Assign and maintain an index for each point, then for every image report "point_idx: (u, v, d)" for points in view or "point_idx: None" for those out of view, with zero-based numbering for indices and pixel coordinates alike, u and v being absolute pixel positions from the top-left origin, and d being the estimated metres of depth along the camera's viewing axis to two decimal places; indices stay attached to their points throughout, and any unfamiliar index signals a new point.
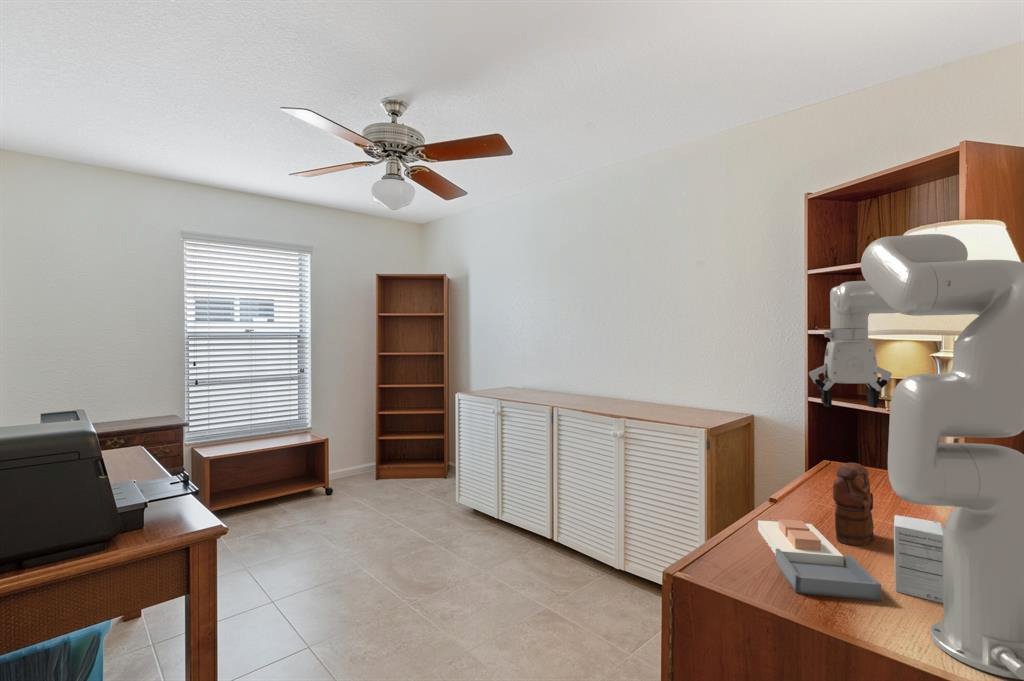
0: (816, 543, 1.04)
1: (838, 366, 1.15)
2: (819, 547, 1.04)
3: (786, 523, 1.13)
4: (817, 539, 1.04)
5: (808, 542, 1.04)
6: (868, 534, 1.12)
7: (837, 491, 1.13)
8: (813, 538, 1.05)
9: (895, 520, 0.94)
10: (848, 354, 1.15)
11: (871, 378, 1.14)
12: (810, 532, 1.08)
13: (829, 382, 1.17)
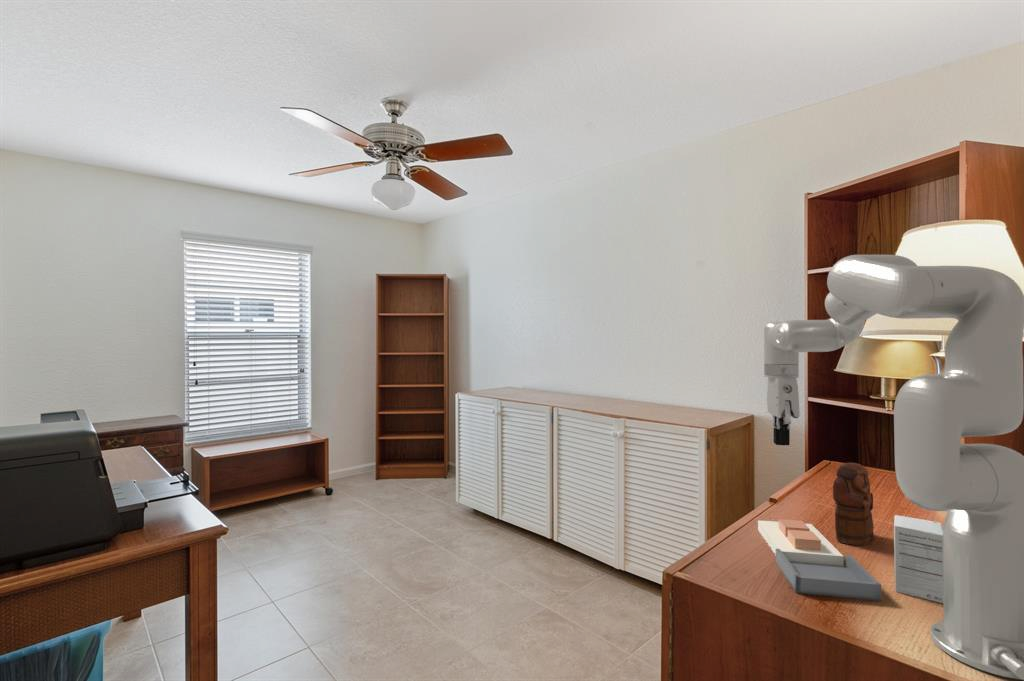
0: (816, 543, 1.04)
1: None
2: (819, 547, 1.04)
3: (786, 523, 1.13)
4: (817, 539, 1.04)
5: (808, 542, 1.04)
6: (868, 534, 1.12)
7: (837, 491, 1.13)
8: (813, 538, 1.05)
9: (895, 520, 0.94)
10: None
11: None
12: (810, 532, 1.08)
13: None
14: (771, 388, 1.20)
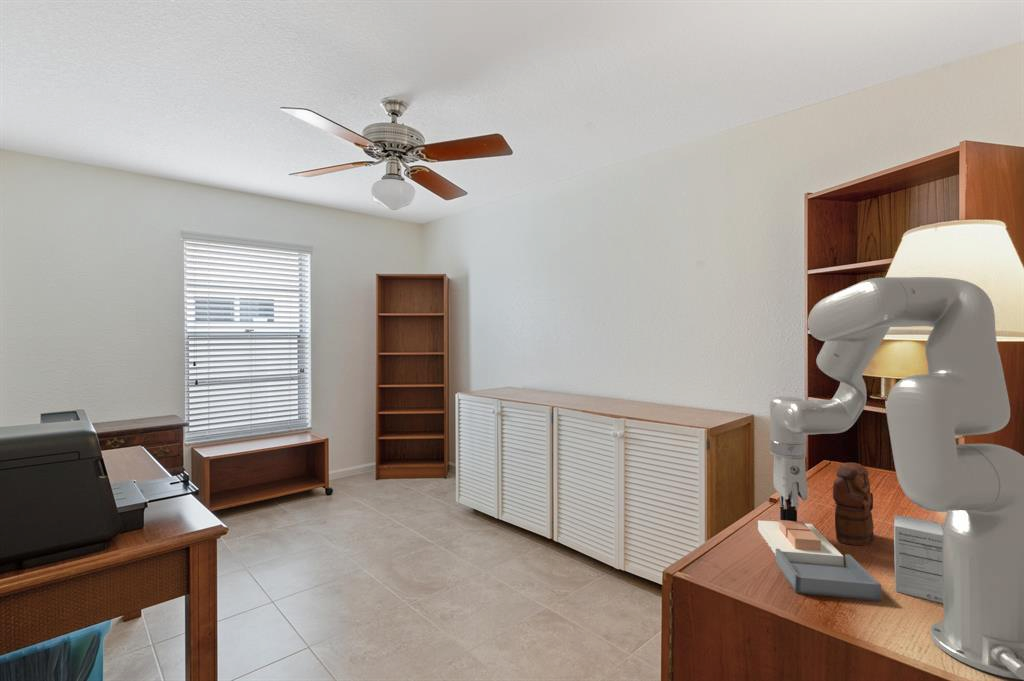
0: (816, 543, 1.04)
1: None
2: (819, 547, 1.04)
3: (786, 524, 1.13)
4: (817, 539, 1.04)
5: (808, 542, 1.04)
6: (868, 534, 1.12)
7: (837, 491, 1.13)
8: (813, 538, 1.05)
9: (895, 520, 0.94)
10: None
11: None
12: (810, 532, 1.08)
13: None
14: (777, 466, 1.16)
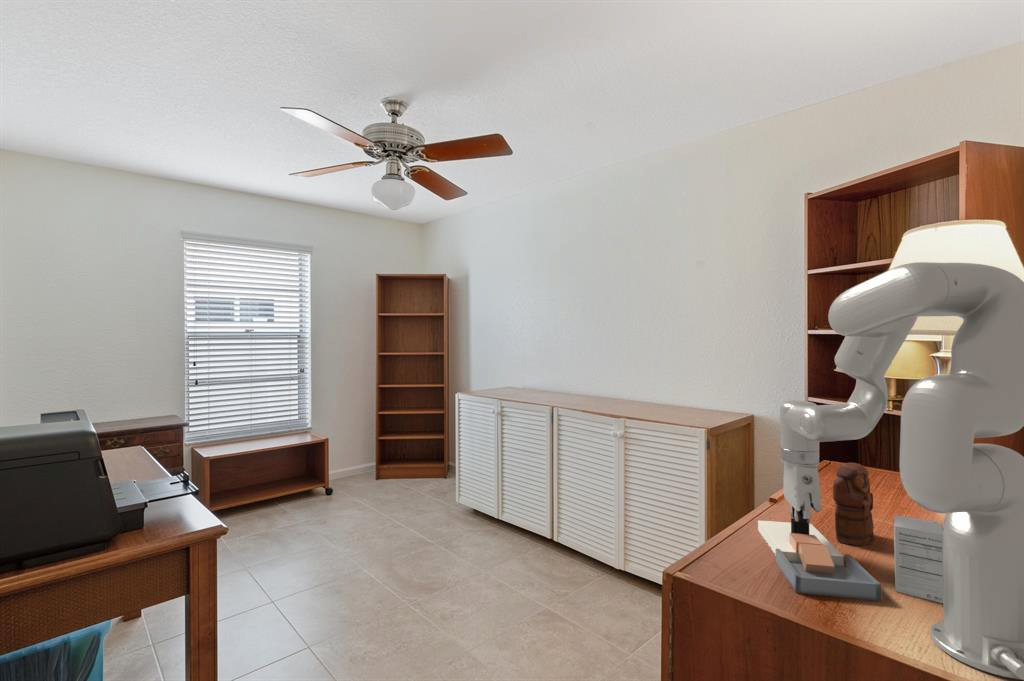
0: (829, 568, 0.97)
1: None
2: (831, 571, 0.97)
3: (797, 538, 1.05)
4: (830, 564, 0.97)
5: (820, 567, 0.97)
6: (868, 534, 1.12)
7: (837, 491, 1.13)
8: (826, 562, 0.97)
9: (895, 520, 0.94)
10: None
11: None
12: (824, 548, 1.00)
13: None
14: (788, 475, 1.08)
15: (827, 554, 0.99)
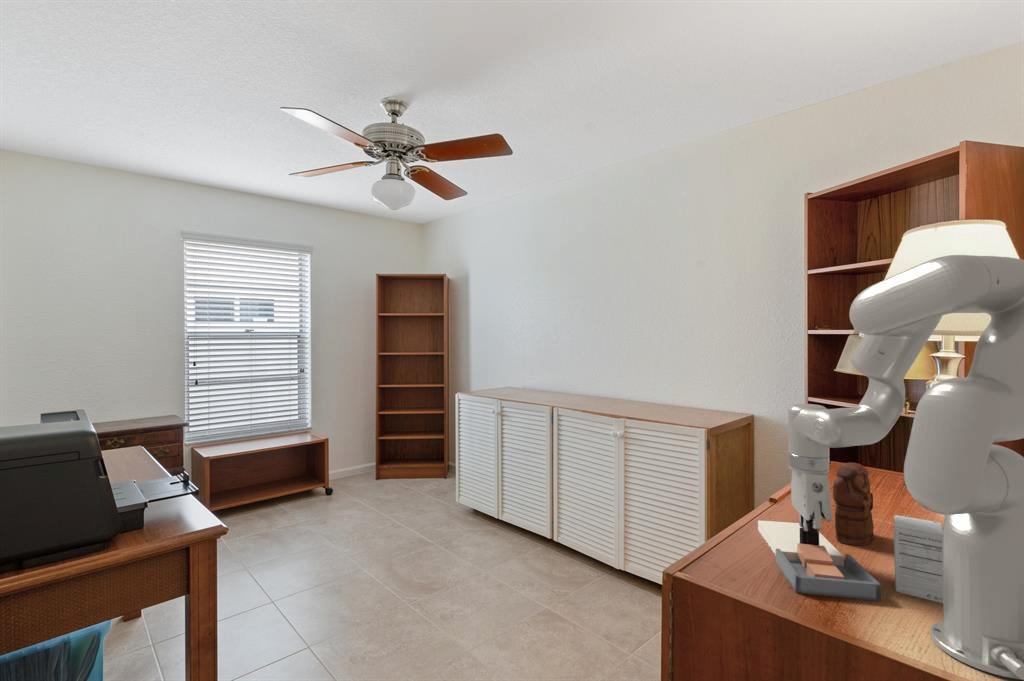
0: None
1: None
2: None
3: (805, 551, 1.00)
4: (840, 575, 0.92)
5: None
6: (868, 534, 1.12)
7: (837, 491, 1.13)
8: (835, 574, 0.93)
9: (895, 520, 0.94)
10: None
11: None
12: (832, 566, 0.96)
13: None
14: (797, 482, 1.03)
15: (836, 569, 0.94)
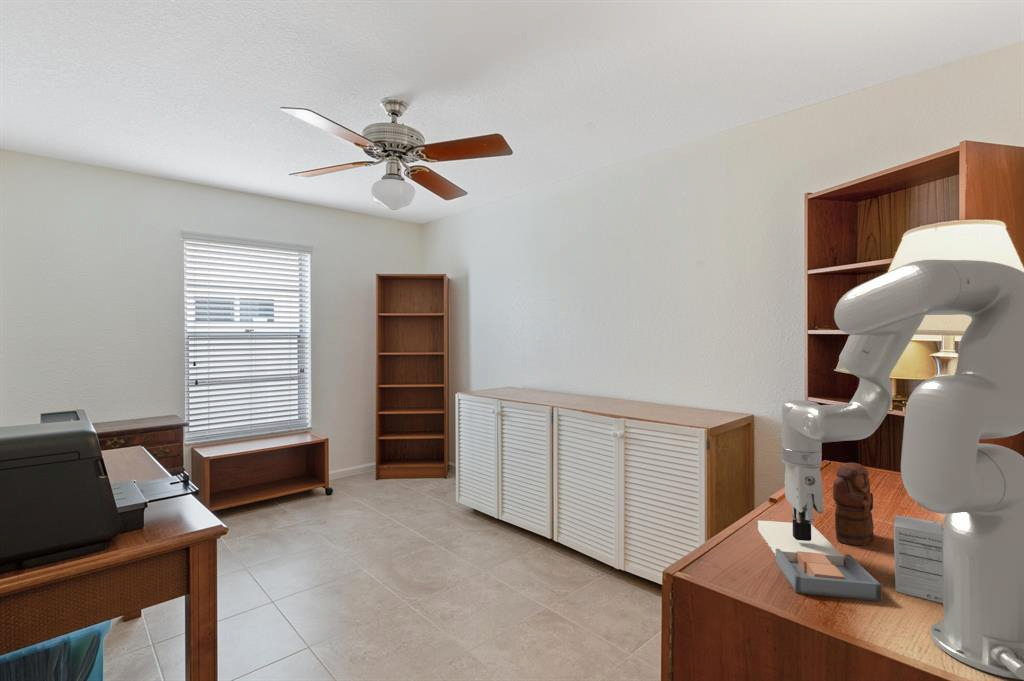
0: None
1: None
2: None
3: (804, 557, 1.00)
4: (840, 575, 0.92)
5: None
6: (868, 534, 1.12)
7: (837, 491, 1.13)
8: (835, 574, 0.93)
9: (895, 520, 0.94)
10: None
11: None
12: (832, 566, 0.96)
13: None
14: (790, 476, 1.07)
15: (836, 569, 0.94)
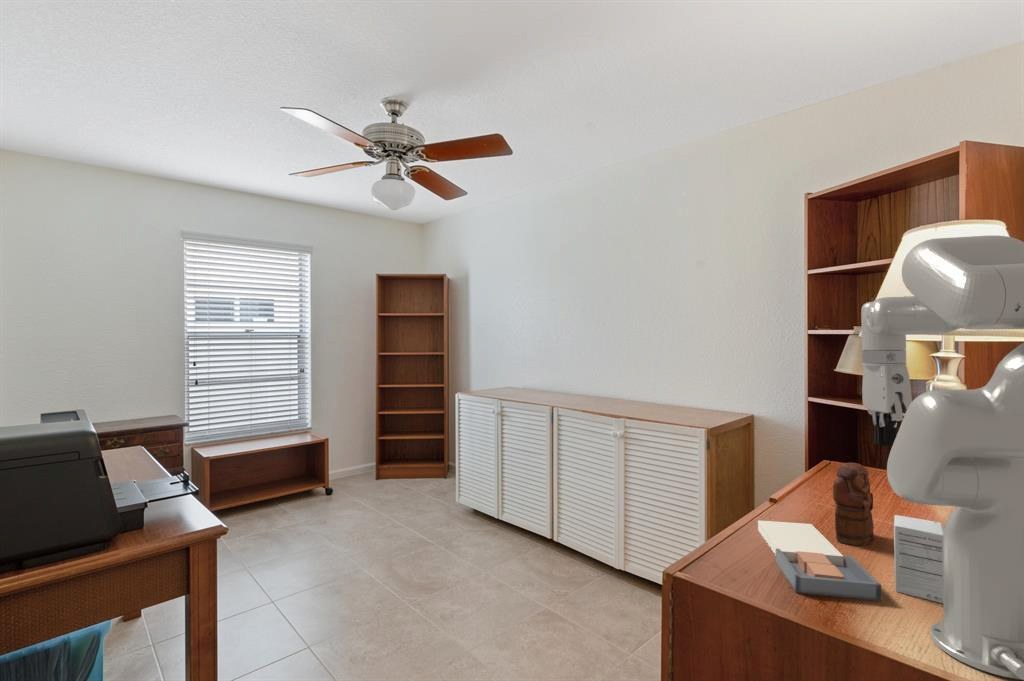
0: None
1: None
2: None
3: (804, 557, 1.00)
4: (840, 575, 0.92)
5: None
6: (868, 534, 1.12)
7: (837, 491, 1.13)
8: (835, 574, 0.93)
9: (895, 520, 0.94)
10: None
11: None
12: (832, 566, 0.96)
13: None
14: (873, 379, 1.03)
15: (836, 569, 0.94)
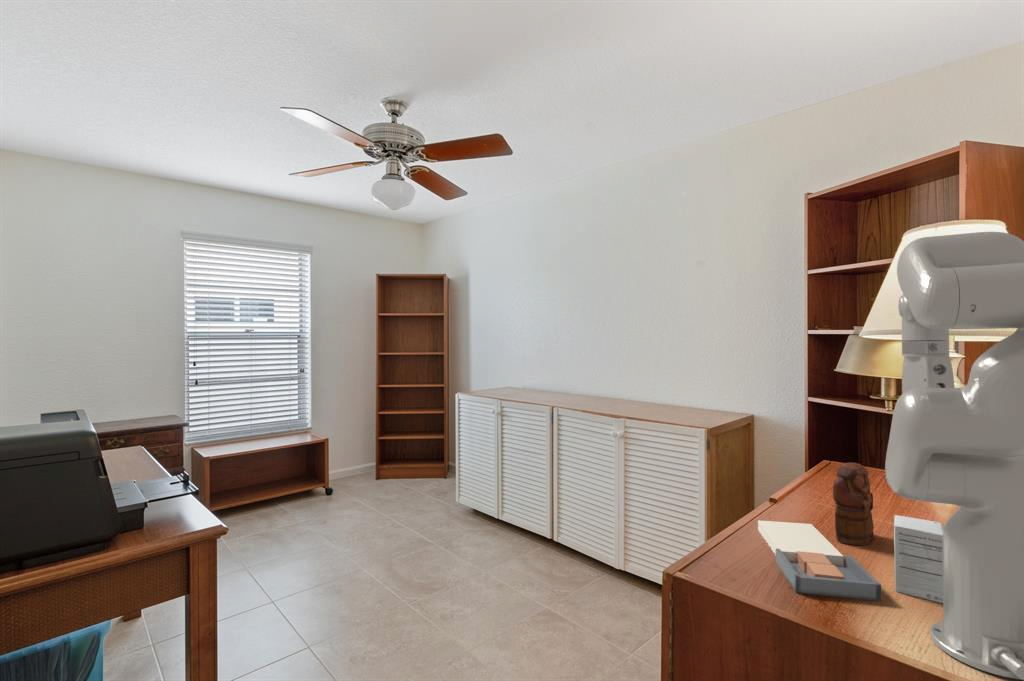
0: None
1: None
2: None
3: (804, 557, 1.00)
4: (840, 575, 0.92)
5: None
6: (868, 534, 1.12)
7: (837, 491, 1.13)
8: (835, 574, 0.93)
9: (895, 520, 0.94)
10: None
11: None
12: (832, 566, 0.96)
13: None
14: (913, 369, 1.00)
15: (836, 569, 0.94)
